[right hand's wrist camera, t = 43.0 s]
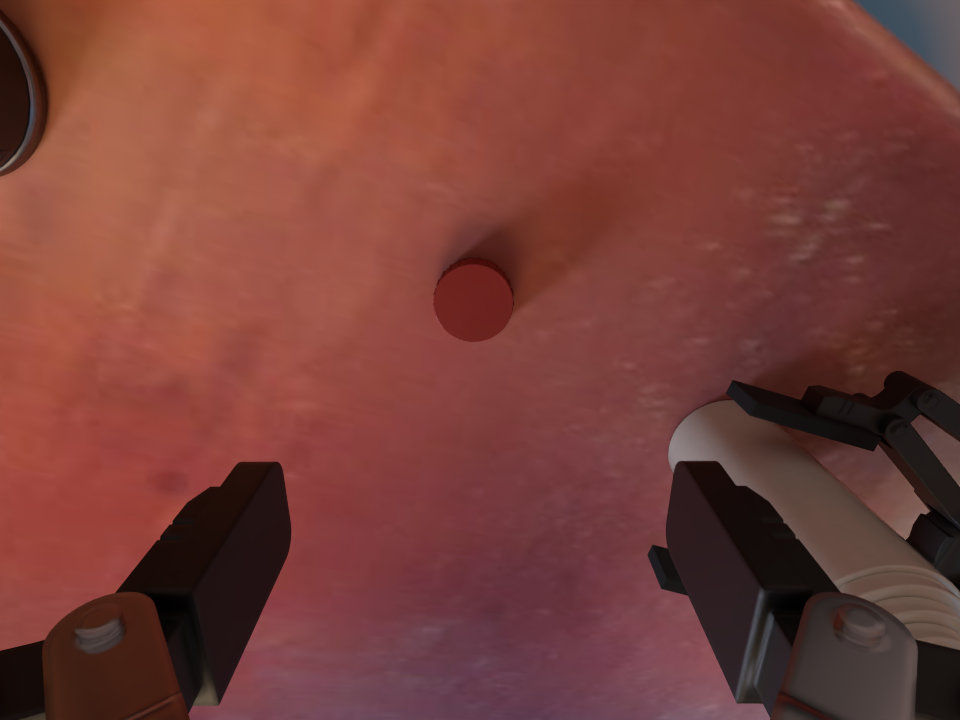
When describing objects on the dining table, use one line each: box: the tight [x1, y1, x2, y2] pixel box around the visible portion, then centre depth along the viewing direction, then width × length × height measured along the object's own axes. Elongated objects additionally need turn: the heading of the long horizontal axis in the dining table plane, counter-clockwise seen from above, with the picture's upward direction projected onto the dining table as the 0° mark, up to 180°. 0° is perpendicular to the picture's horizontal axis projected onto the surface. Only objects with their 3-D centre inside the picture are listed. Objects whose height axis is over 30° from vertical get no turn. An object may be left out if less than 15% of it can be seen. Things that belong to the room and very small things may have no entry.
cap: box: [433, 258, 514, 342], centre depth 32 cm, size 4×4×2 cm
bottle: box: [668, 400, 960, 650], centre depth 26 cm, size 7×7×21 cm
